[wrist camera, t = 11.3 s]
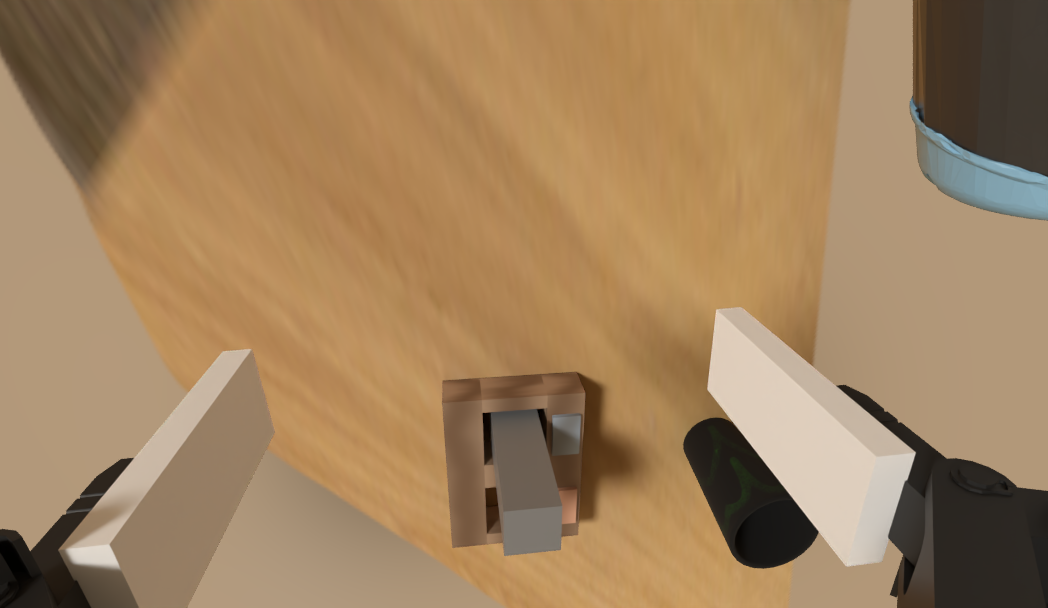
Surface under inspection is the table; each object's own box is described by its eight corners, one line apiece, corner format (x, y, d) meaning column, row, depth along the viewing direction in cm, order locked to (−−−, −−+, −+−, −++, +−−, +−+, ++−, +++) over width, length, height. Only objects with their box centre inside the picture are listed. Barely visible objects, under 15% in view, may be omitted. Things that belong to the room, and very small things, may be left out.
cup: (724, 477, 56) (790, 575, 45) (660, 463, 55) (714, 561, 44) (760, 418, 54) (839, 506, 43) (694, 400, 52) (760, 488, 41)
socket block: (576, 372, 49) (586, 395, 45) (570, 508, 55) (578, 538, 52) (442, 380, 48) (442, 405, 44) (452, 519, 54) (452, 551, 50)
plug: (532, 393, 49) (562, 506, 37) (532, 430, 51) (560, 549, 38) (488, 396, 49) (503, 511, 36) (489, 433, 50) (504, 555, 38)
